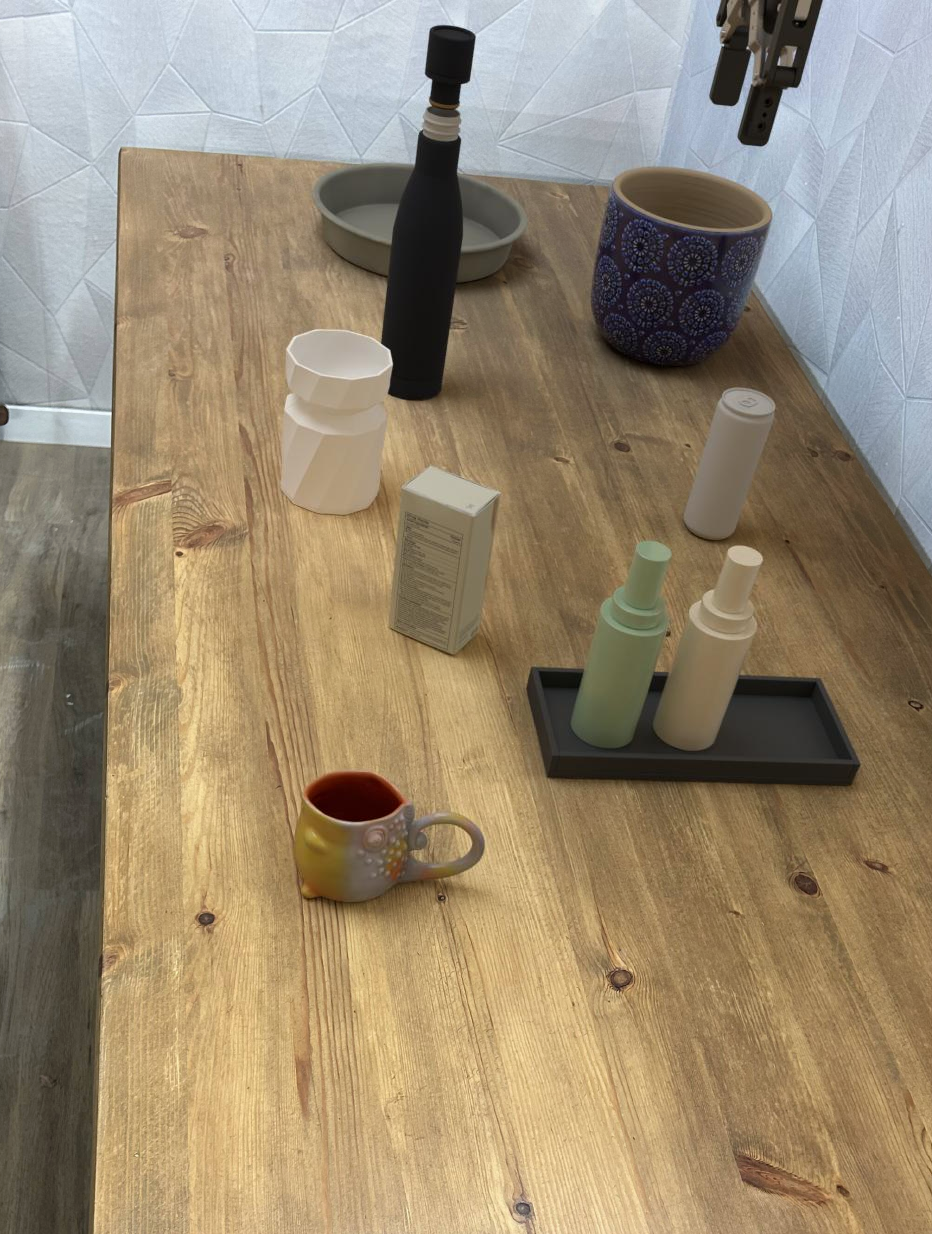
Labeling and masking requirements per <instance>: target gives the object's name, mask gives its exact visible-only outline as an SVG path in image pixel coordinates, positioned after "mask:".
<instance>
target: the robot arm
mask: <svg viewBox="0 0 932 1234" xmlns="http://www.w3.org/2000/svg"><path fill="white" fill-rule="evenodd" d="M823 1H824V0H720V3H719V5H718V10H717V13H716V17H715V25H716V27H717V28H721V29H720V31H719V43H720V44H721V47H720V51H719V54H718V59H717V62H716V67H715V69H714V70H715V71H714V75H713V78H712V82H711V87H710V90H709V94H708V97H709V100H710V101H711V103H712V104H713V105H715V106H723V107H724V106H725V107H735V106H737V104H738V103H739V100H740V97H741V94H742V90H743V86H744V82H745V79H746V75H747V71H748V67H749V64H750V59H751V56H752V54H753V67H752V77H751V78H752V79H751V80H752V81H751V84H750V87H749V90H748V94H747V98H746V102H745V104H744V109H743V113H742V115H741V120H740V123H739V127H738V131H737V136H736V137H737V139H738V141H739V142H740V143H741V145H742V146H751V147H759V148H760V147H764V146H766V145H767V144H768V143H769V140H770V137H771V133H772V129H773V127H774V124H775V120H776V116H777V113H778V110H779V106H780V103H781V99H782V96H783V92H784V91H787V90H788V89H789V88H791V89H798V88H799V86H800V85H801V81H802V78H803V74H804V71H805V68H806V64H807V60H808V56H809V52H810V50H811V46H812V42H813V38H814V35H815V31H816V28H817V23H818V20H819V16H820V12H821V9H822V5H823ZM779 60H780V61H779Z"/></svg>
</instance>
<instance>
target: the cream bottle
mask: <svg viewBox="0 0 932 1234" xmlns="http://www.w3.org/2000/svg"><path fill="white" fill-rule="evenodd" d="M763 562H764V557H763V555H762V554H761V553H760V551H758V550H756V549H754V548H752V547H750V546H746V545H734V546H731V547H729V548H728V550H727V551H726V555H725V558H724V561H723V563H722V566H721V570H720V572H719V576H718V578H717V582H716V584H715V586H714V588H713V589H710V590H707V591H706V592H705V593H704V594H703V595H702V598H701V599H699V600H697V601H695V602H694V603H692V604H691V606H690V607H689V610H688V612H687V616H686V618H685V622H684V624H683V628H682V631H681V634H680V637H679V640H678V643H677V646H676V649H675V652H674V656H673V658H672V661H671V665H670V668H669V671H668V672H669V674H668V677H667V680H666V683H665V686H664V689H663V692H662V695H661V698H660V701H659V704H658V707H657V710H656V713H655V716H654V720H653V728H654V731H655V733H656V734H657V736H658V737H659V738H660V739H661V740H662V741H664V742H665V743H667V744H668V745H670V746H672V747H675V748H678V749H681V750H686V751H700V750H704V749H706V748H708V747H710V746H711V745H712V744H713V743H714V742H715V740H716V737H717V734H718V732H719V729H720V726H721V724H722V721H723V718H724V716H725V713H726V710H727V708H728V705H729V702H730V700H731V697H732V694H733V692H734V689H735V686H736V684H737V681H738V678H739V676H740V675H741V673H742V671H743V667H744V665H745V662H746V659H747V657H748V655H749V651H750V649H751V646H752V643H753V641H754V637H755V636H756V633H757V631H758V622H757V619H756V618H755V616H754V613H755V607H754V604H753V602H752V601H751V600H750V597H751V595H752V592H753V590H754V586H755V584H756V582H757V578H758V575H759V573H760V570H761V568H762V565H763Z"/></svg>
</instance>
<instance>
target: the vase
mask: <svg viewBox="0 0 932 1234" xmlns="http://www.w3.org/2000/svg"><path fill="white" fill-rule="evenodd" d="M392 367H393V363H392V358H391V353H390V350H389V349H388V348H386V347H385V346H383V345H382V344H381V342H379V341H378V340H377V339H375V338H373V337H372V336H369V335H365V334H361V333H358V332H355V331H354V332H353V331H350V330H347V329H320V328H315V329H312V330H309V331H306V332H303V333H300V334H298V335H295V336H293V337H292V339H291V341H289V344H288V345H287V347H286V349H285V377H286V378H285V379H286V382H287V388H288V390H289V391H291V393H289V394H287V395H286V399H285V405H284V410H283V416H282V425H281V477H280V483H279V485H280V488H279V489H280V491H281V492H282V493H283V494H284V495H285V497H286V498H288V500H290V502H291V504H293V505H296V506H298V507H301V508H303V509H306V510H308V511H310V512H313V513H315V514H323V515H341V516H347V515H351V514H353V513H356V512H359V511H363V510H365V509H369V507H370V506H371V505H372V503H373V502H374V501H375V499H376V498H377V497H378V494H379V491H380V485H381V473H382V457H383V450H384V444H385V438H386V437H385V436H386V432H387V423H388V414H387V412H386V410H385V407H384V405H383V404H382V402H383V401H385V400H387V397H388V395H389V393H388V390H389V386H390V378H391V372H392Z"/></svg>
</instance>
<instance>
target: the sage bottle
mask: <svg viewBox="0 0 932 1234" xmlns="http://www.w3.org/2000/svg"><path fill="white" fill-rule="evenodd" d="M672 556H673V555H672V551H671V549H670V548H669V547H668V546H667V545H665V544H663V543H661V542H659V541H654V540H642V541H640V542H638V543H637V544H636V546H635V549H634V552H633V556H632V559H631V563H630V566H629V570H628V574H627V578H626V581H625V584H624V585H622V586H619V587H617V589H615V590H614V592H613V594H612V596H609V597H607V598H606V599H604V600H603V602H602V603H601V605H600V608H599V612H598V616H597V620H596V624H595V627H594V631H593V633H592V634H593V635H592V639H591V641H590V646H589V650H588V653H587V657H586V661H585V665H584V667H583V669H584V672H583V676H582V679H581V683H580V687H579V691H578V694H577V698H576V702H575V706H574V709H573V713H572V717H571V727H572V730H573V731H574V733H575V734H576V735H577V736H578V737H579V738H580V739H581V740H583V741H584V742H586V743H588V744H590V745H593V746H596V747H600V748H607V749H613V748H619V747H623V746H625V745H627V744H628V743H630V742H631V741H632V739H633V737H634V735H635V731H636V728H637V725H638V722H639V719H640V716H641V712H642V709H643V706H644V703H645V700H646V697H647V693H648V690H649V687H650V684H651V681H652V678H653V674H654V672H656V668H657V665H658V662H659V658H660V656H661V652H662V650H663V649H662V648H663V646H664V643H665V639H666V636H667V634H668V630H669V627H670V621H671V619H670V616H669V614H668V612H667V610H666V601H665V599H664V597H663V596H662V594H661V592H662V589H663V585H664V582H665V579H666V577H667V572H668V569H669V566H670V563H671V560H672Z"/></svg>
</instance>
